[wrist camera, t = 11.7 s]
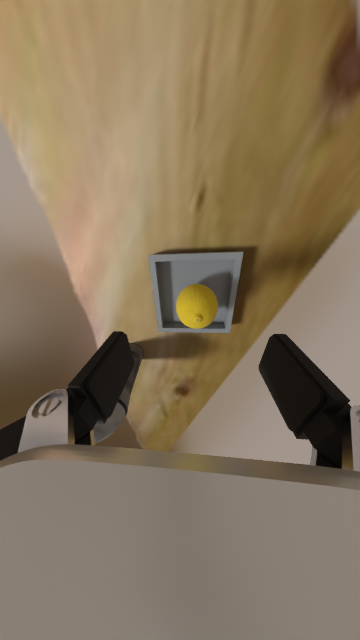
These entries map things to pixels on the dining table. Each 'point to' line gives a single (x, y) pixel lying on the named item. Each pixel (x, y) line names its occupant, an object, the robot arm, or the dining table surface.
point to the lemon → (197, 306)
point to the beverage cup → (120, 401)
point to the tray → (195, 269)
